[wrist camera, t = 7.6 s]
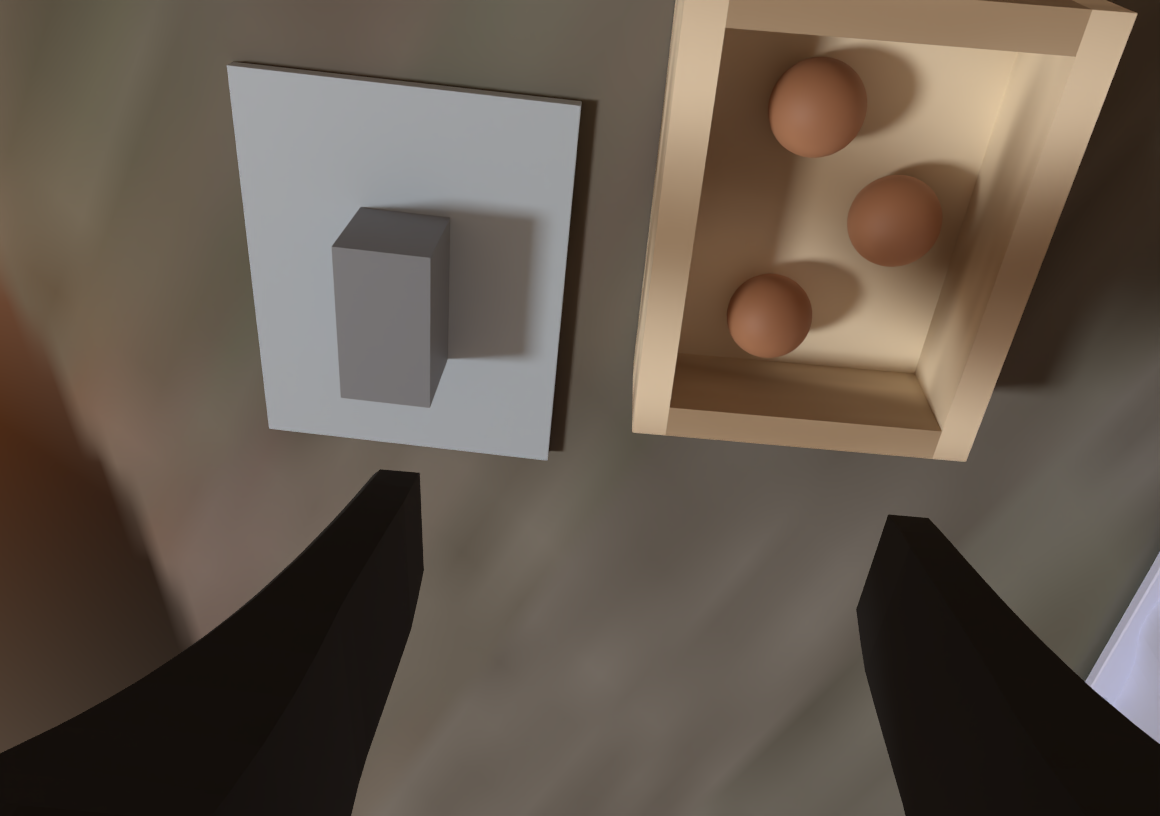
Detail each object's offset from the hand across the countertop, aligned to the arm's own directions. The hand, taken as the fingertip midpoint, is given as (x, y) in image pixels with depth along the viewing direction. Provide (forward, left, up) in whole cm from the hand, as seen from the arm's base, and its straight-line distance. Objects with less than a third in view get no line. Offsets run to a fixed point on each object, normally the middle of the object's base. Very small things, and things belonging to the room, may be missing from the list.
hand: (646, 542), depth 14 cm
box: (+2, -4, -10) cm, 11 cm away
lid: (-1, +6, -11) cm, 13 cm away
